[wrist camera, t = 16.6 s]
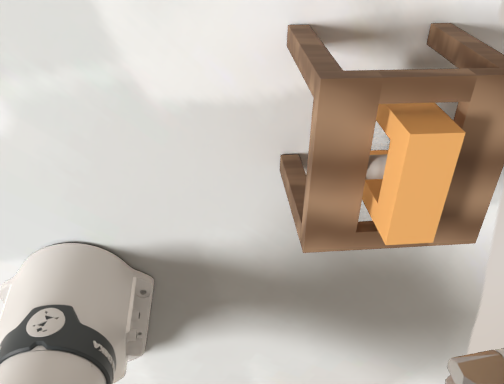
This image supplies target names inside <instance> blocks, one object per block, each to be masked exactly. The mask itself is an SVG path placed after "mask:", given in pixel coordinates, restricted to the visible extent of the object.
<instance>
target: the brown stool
mask: <svg viewBox="0 0 504 384" xmlns="http://www.w3.org/2000/svg"><path fill="white" fill-rule="evenodd" d="M427 45H428V46H430V47H431V48H432V49H434V50H435V51H436V52H438V53H439V54H440V55H442V56H443V57H444V58H446V59H447V60H448V61H450V62H451V63H452V64H454V65H455V66H456V67H458V68H459V69H412V70H362V71H343V70H342V68H341V67H340V66H339V64H338V63H337V62H336V60H335V59H334V58H333V56H332V55H331V54H330V52H329V51H328V50H327V48H326V47H325V46H324V44H323V43H322V42H321V40H320V39H319V38H318V36H317V35H316V33H315V32H314V31H313V29H312V28H311V27H310V25H288V35H287V47H288V49H289V51H290V53H291V55H292V57H293V59H294V61H295V63H296V65H297V66H298V68H299V70H300V72H301V74H302V76H303V78H304V80H305V82H306V84H307V85H308V87H309V89H310V91H311V93H312V95H313V97H314V100H313V111H312V122H311V132H310V143H309V153H308V164H307V175H306V173H305V171H304V168H303V165H302V162H301V160H300V157H299V154H294V155H281V158H280V173H281V176H282V180H283V184H284V187H285V191H286V194H287V198H288V201H289V205H290V208H291V212H292V215H293V219H294V222H295V226H296V229H297V233H298V236H299V240H300V243H301V247H302V250H303V253H309V252H327V251H345V250H363V249H381V248H399V247H417V246H435V245H453V244H471V243H476V240H477V237H478V234H479V232H480V229H481V226H482V223H483V221H484V218H485V215H486V212H487V210H488V207H489V204H490V201H491V199H492V196H493V193H494V190H495V188H496V185H497V182H498V179H499V177H500V174H501V171H502V168H503V166H504V55H503V54H502V53H500V52H498V51H497V50H495V49H493V48H492V47H490V46H488V45H487V44H485V43H483V42H482V41H480V40H478V39H477V38H475V37H473V36H472V35H470V34H468V33H466V32H465V31H463V30H461V29H460V28H458V27H456V26H455V25H453V24H451V23H431V26H430V31H429V36H428V40H427ZM435 102H458V106H457V109H456V113H455V117H454V120H453V121H454V122H455V123H456V124H457V125H458V126H459V127H460V128H461V129H462V130H463V131H465V132H466V133H465V136H464V140H463V143H462V147H461V150H460V153H459V157H458V160H457V163H456V167H455V170H454V174H453V177H452V180H451V184H450V187H449V190H448V194H447V197H446V201H445V204H444V207H443V211H442V214H441V217H440V221H439V224H438V227H437V231H436V234H435V238H434V241H433V243H418V244H400V245H385V243H384V241H383V239H382V237H381V235H380V233H379V232H378V230H377V228H376V226H375V224H374V222H373V221H363V222H358V218H359V213H360V207H361V201H362V196H363V190H364V184H365V180H369V179H383V175H384V170H385V165H386V160H387V155H388V154H383V155H370V150H371V145H372V139H373V133H374V128H375V122H376V117H377V111H378V105H379V104H398V103H435Z"/></svg>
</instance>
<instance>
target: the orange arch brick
mask: <svg viewBox="0 0 504 384" xmlns="http://www.w3.org/2000/svg"><path fill="white" fill-rule="evenodd" d="M376 121H377V122H378V123H379V125H380V126H381V128H382V129H383V130H384V132H385V133H386V134H387V136H388V137H389V138H390V145H389V150H375V151H370V155H383V154H388V155H387V160H386V165H385V170H384V175H383V179H369V180H365V184H364V190H363V196H362V200H363V202H364V204H365V206H366V208H367V210H368V212H369V214H370V216H371V218H372V220H373V222H374V224H375V226H376V228H377V230H378V232H379V233H380V235H381V237H382V239H383V241H384V243H385V245H400V244H418V243H433V241H434V238H435V234H436V231H437V227H438V224H439V221H440V217H441V214H442V211H443V207H444V204H445V201H446V197H447V194H448V190H449V187H450V184H451V180H452V177H453V174H454V170H455V167H456V163H457V160H458V157H459V153H460V150H461V147H462V143H463V140H464V136H465V133H466V132H465V131H463V130H462V129H461V128H460V127H459V126H458V125H457V124H456V123H455V122H454V121H453V120H452V119H451V118H450V117H449V116H448V115H447V114H446V113H445V112H444V111H443V110H442V109H441V108H440V107H439V106H438V105H437V104H435V103H398V104H379V105H378V111H377V117H376Z"/></svg>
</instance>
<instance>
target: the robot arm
mask: <svg viewBox="0 0 504 384" xmlns="http://www.w3.org/2000/svg"><path fill="white" fill-rule="evenodd" d="M153 288H154V280H153V278H152V277H151V276H149V275H147V274H145V273H142V272H140V271H137V270H134V269H133V268H131V267H130V266H128V265H127V264H126V263H125V262H124V261H123V260H121V259H120V258H119V257H117V256H116V255H114V254H112V253H111V252H109V251H107V250H104V249H102V248H99V247H96V246H92V245H87V244H80V243H63V244H56V245H52V246H48V247H45V248H42V249H40V250H38V251H36V252H35V253H33V254H32V255H30V256H29V257H28V258H27V259H26V260H25V261H24V262H23V264H22V265H21V267H20V269H19V271H18V272H17V274H16V275H15V276H14V277H12V278H11V279H9V280H7V281H6V282H4V283H3V284H2V285H1V287H0V298H1V300H2V301H3V302H4V306H3V309H2V312H1V315H0V384H112V383H115V382H117V381H119V380H120V379H122V378H123V377H124V376H125V374H126V368H127V362H129V361H132V360H134V359H136V358H139V357H140V356H142V355H143V354H144V351H145V347H146V340H147V332H148V325H149V318H150V310H151V303H152V296H153ZM142 290H145V291H142ZM447 368H448V370H449V372H450V374H451V375H450V376H449V377H448V378H447V379H446V380H445V384H504V348H502V349H497V350H489V351H484V352H479V353H475V354H469V355H464V356H459V357H454V358H451V359H450V360H448V366H447Z"/></svg>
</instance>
